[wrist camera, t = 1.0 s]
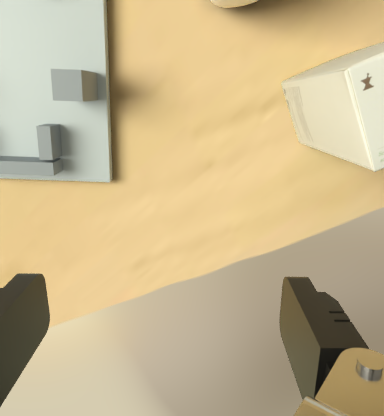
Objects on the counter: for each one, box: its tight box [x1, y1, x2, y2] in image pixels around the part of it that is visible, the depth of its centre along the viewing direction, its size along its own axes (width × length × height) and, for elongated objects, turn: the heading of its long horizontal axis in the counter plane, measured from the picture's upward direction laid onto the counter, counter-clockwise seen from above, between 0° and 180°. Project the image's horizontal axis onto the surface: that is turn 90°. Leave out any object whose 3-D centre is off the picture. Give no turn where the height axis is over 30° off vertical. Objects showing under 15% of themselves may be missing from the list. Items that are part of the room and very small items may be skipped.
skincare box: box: [281, 42, 384, 172], centre depth 27 cm, size 8×7×16 cm
